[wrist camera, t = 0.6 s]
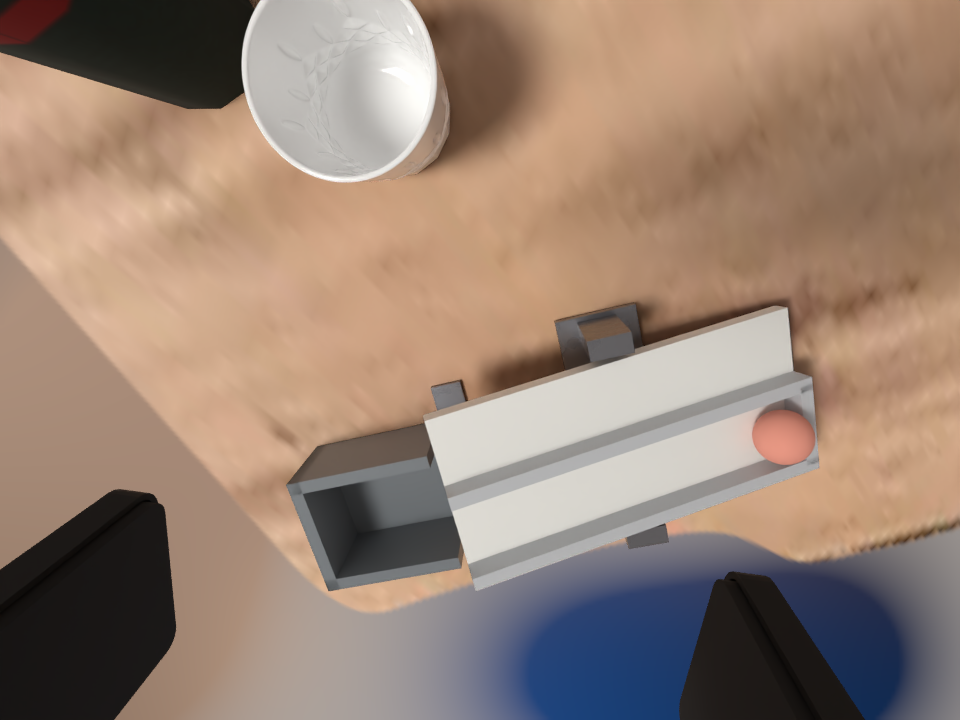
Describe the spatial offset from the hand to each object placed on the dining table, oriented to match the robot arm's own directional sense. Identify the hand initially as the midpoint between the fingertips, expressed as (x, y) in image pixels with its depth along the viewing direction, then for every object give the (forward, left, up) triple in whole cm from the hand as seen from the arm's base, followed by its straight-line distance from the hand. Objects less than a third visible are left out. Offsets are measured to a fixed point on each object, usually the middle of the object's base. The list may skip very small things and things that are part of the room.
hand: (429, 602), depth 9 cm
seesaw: (-6, +9, -21) cm, 24 cm away
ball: (-15, +11, -22) cm, 28 cm away
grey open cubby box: (+10, +11, -25) cm, 29 cm away
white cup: (+3, -12, -26) cm, 29 cm away
